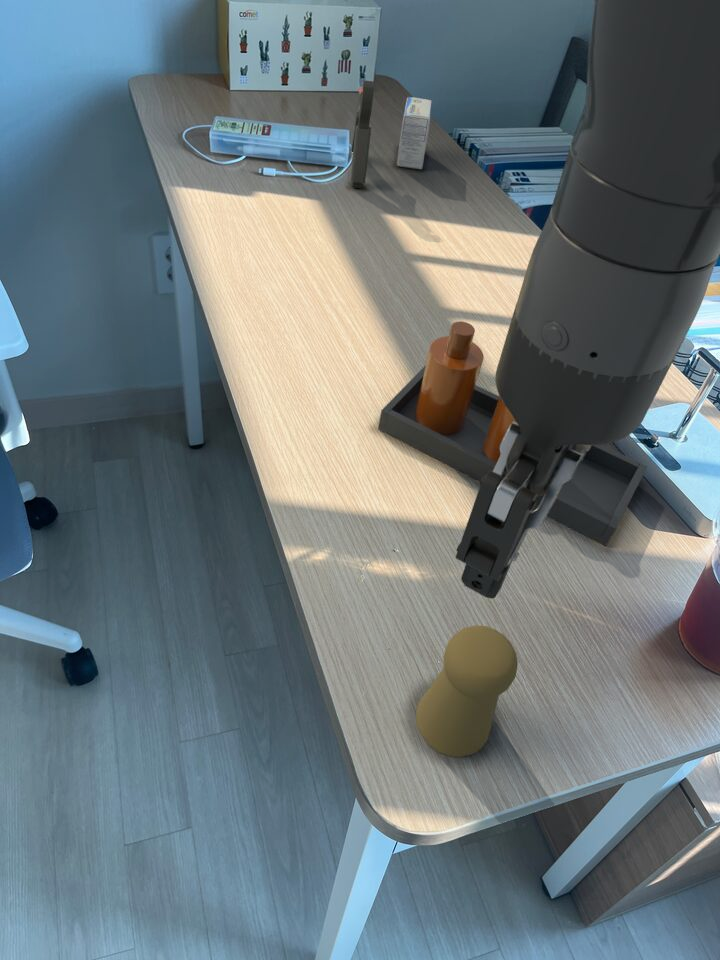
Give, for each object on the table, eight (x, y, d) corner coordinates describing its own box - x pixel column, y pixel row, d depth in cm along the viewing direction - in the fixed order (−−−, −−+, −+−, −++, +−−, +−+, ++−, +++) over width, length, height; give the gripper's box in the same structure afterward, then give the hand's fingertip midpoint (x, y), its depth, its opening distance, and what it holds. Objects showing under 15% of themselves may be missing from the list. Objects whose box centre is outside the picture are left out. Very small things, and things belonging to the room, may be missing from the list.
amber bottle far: (473, 414, 85) (500, 326, 76) (450, 442, 81) (476, 352, 73) (429, 393, 86) (451, 305, 78) (405, 419, 83) (425, 329, 74)
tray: (637, 484, 81) (647, 466, 79) (605, 546, 75) (616, 528, 73) (423, 381, 89) (428, 362, 87) (377, 429, 82) (381, 410, 80)
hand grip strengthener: (363, 155, 129) (374, 60, 118) (364, 190, 120) (377, 91, 109) (349, 154, 128) (360, 58, 117) (350, 188, 120) (361, 89, 109)
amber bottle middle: (542, 448, 82) (578, 361, 74) (521, 478, 79) (557, 390, 70) (496, 426, 84) (526, 338, 75) (474, 454, 80) (503, 365, 72)
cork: (488, 764, 58) (528, 697, 50) (411, 748, 58) (439, 679, 50) (491, 693, 62) (529, 621, 54) (419, 678, 62) (446, 604, 54)
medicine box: (421, 171, 127) (431, 118, 121) (395, 166, 127) (403, 113, 121) (424, 151, 133) (433, 99, 126) (398, 147, 133) (406, 95, 126)
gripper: (627, 439, 29) (518, 657, 41) (715, 285, 38) (605, 500, 49) (455, 360, 31) (398, 588, 43) (576, 232, 40) (502, 450, 52)
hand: (509, 541), depth 46 cm, fingers open, 8 cm apart
